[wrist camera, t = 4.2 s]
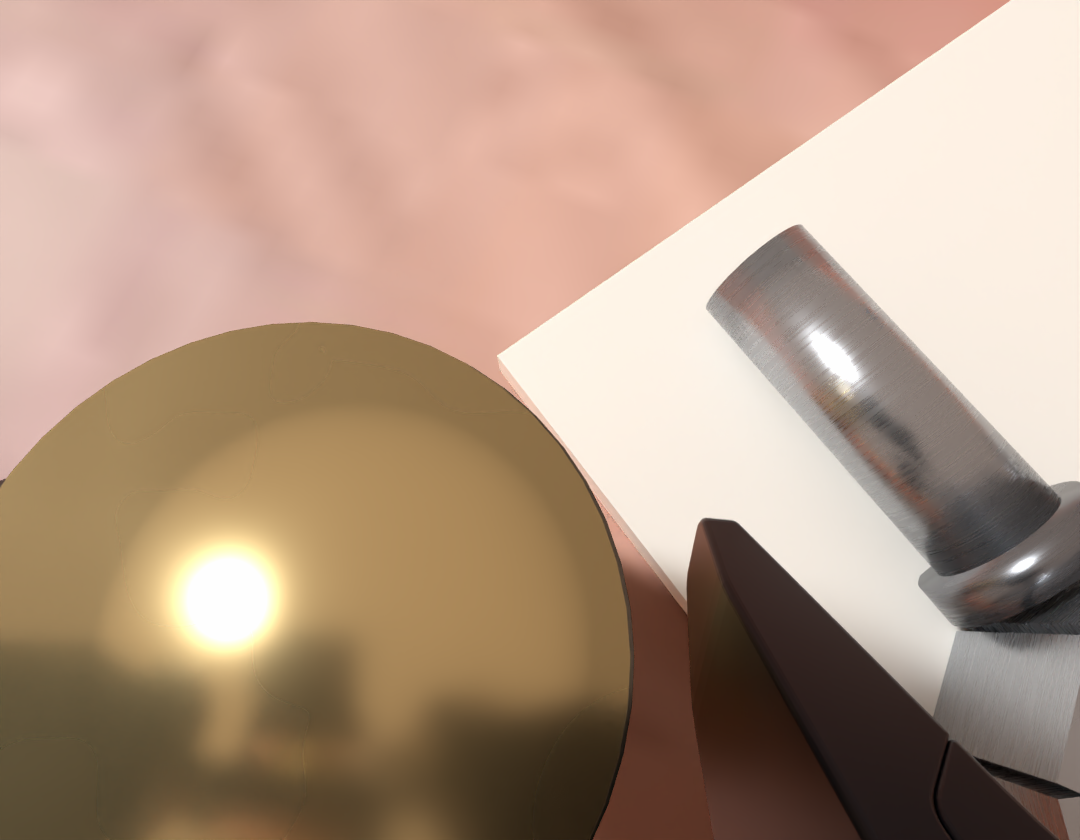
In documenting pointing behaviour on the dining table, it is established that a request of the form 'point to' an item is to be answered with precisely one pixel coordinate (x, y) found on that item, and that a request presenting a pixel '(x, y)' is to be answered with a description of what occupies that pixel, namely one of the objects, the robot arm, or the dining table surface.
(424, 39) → the dining table surface
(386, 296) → the dining table surface
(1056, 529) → the steel cradle
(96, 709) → the cylinder
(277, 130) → the dining table surface
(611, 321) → the mounting plate
